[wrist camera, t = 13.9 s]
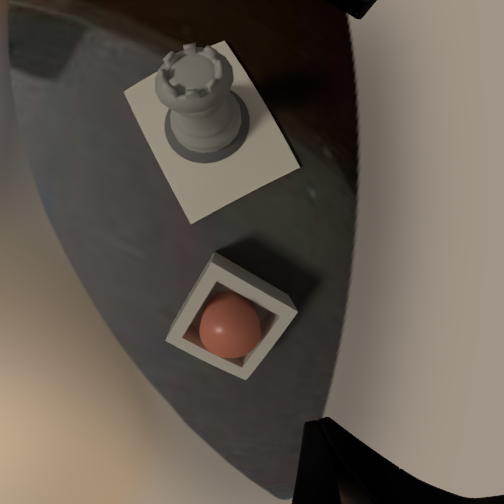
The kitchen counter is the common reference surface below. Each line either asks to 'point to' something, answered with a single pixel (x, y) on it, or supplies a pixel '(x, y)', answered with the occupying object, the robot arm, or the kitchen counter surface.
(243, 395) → the kitchen counter surface
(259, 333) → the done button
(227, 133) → the rook chess piece
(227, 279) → the button housing
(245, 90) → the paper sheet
